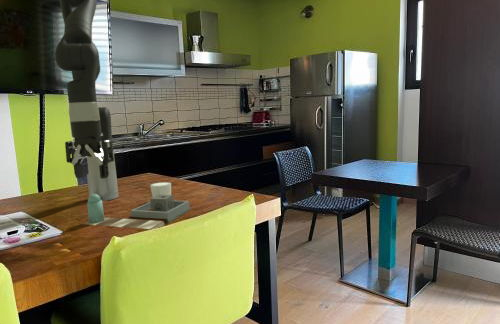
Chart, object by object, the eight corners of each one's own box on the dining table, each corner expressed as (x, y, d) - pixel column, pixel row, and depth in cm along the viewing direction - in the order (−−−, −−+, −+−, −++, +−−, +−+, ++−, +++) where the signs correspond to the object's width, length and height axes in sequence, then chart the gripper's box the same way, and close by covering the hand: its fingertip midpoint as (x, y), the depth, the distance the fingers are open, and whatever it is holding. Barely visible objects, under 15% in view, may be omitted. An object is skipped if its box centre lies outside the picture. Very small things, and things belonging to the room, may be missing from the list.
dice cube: (166, 215, 110) (165, 199, 109) (151, 215, 111) (150, 198, 110) (174, 210, 114) (173, 194, 114) (159, 210, 116) (158, 194, 115)
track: (82, 228, 104) (81, 224, 104) (99, 220, 110) (99, 216, 110) (149, 233, 96) (149, 229, 96) (164, 225, 103) (163, 220, 103)
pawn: (86, 222, 105) (82, 195, 104) (96, 218, 109) (93, 192, 107) (97, 223, 103) (94, 196, 102) (107, 219, 107) (104, 192, 106)
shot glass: (154, 208, 121) (152, 187, 120) (149, 203, 127) (147, 183, 126) (175, 204, 124) (173, 184, 123) (169, 200, 130) (168, 180, 129)
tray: (131, 220, 109) (130, 210, 108) (155, 208, 120) (154, 199, 120) (168, 223, 104) (167, 212, 104) (189, 210, 116) (189, 201, 115)
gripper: (53, 121, 101) (61, 180, 103) (96, 119, 96) (103, 181, 98) (75, 119, 108) (81, 175, 110) (115, 117, 103) (121, 175, 105)
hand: (92, 177), depth 104 cm, fingers open, 8 cm apart
